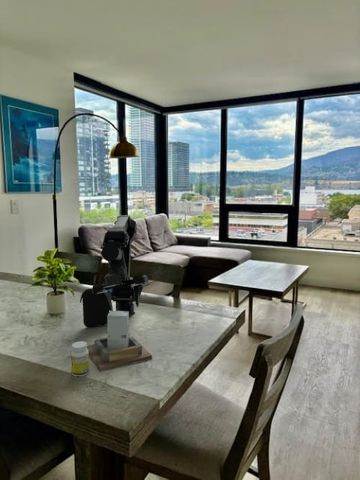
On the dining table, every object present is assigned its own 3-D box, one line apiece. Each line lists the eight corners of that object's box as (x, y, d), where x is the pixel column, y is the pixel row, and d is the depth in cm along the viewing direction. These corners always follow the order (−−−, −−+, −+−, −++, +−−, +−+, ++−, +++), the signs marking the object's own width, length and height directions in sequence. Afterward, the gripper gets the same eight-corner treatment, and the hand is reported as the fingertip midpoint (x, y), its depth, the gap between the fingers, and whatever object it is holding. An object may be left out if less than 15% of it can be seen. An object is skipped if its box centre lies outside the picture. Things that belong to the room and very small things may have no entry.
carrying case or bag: (81, 330, 129) (80, 291, 127) (80, 327, 132) (78, 288, 130) (110, 325, 134) (109, 287, 131) (108, 322, 136) (107, 285, 134)
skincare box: (107, 353, 109) (106, 315, 107) (110, 346, 114) (109, 310, 112) (127, 353, 109) (126, 315, 107) (129, 347, 113) (129, 310, 112)
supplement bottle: (73, 368, 102) (72, 340, 101) (90, 368, 102) (89, 340, 101) (70, 377, 97) (68, 348, 96) (87, 376, 98) (86, 347, 96)
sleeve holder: (85, 349, 114) (85, 338, 114) (132, 339, 122) (132, 329, 121) (100, 371, 100) (99, 359, 100) (152, 358, 108) (151, 347, 107)
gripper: (82, 268, 117) (89, 316, 114) (136, 256, 115) (145, 304, 112) (95, 270, 128) (102, 314, 125) (144, 259, 126) (153, 303, 123)
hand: (124, 309), depth 121 cm, fingers open, 9 cm apart
